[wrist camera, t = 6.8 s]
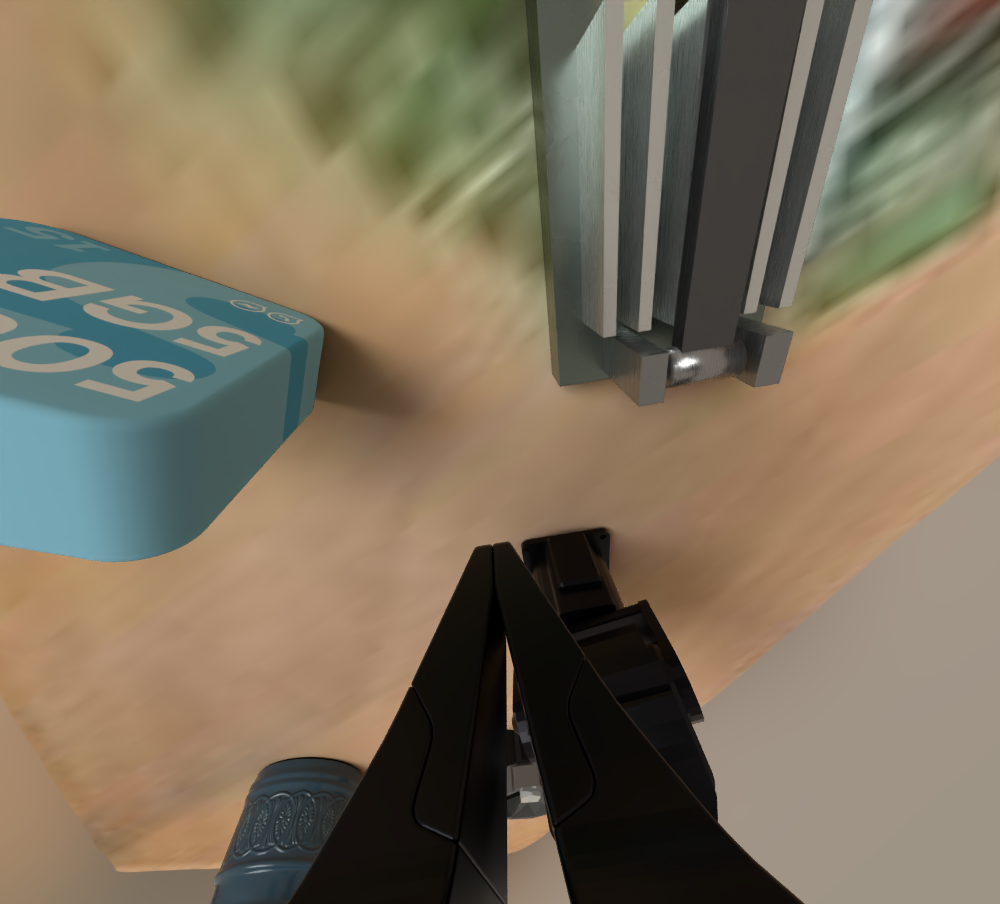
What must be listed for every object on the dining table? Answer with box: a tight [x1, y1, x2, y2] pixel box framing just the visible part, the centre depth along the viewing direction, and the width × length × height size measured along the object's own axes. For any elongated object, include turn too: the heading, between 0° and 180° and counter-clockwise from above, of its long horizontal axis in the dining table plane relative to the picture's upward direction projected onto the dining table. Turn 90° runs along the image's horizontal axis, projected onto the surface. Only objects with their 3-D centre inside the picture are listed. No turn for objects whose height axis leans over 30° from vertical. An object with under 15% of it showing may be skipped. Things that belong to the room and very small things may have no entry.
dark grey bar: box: [662, 0, 806, 388], centre depth 12 cm, size 13×3×2 cm, turn 8°
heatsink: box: [526, 0, 873, 406], centre depth 13 cm, size 15×10×6 cm, turn 8°
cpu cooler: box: [507, 730, 547, 819], centre depth 43 cm, size 10×6×10 cm
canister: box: [210, 759, 362, 904], centre depth 38 cm, size 13×13×18 cm
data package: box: [0, 218, 324, 562], centre depth 12 cm, size 12×4×12 cm, turn 68°
